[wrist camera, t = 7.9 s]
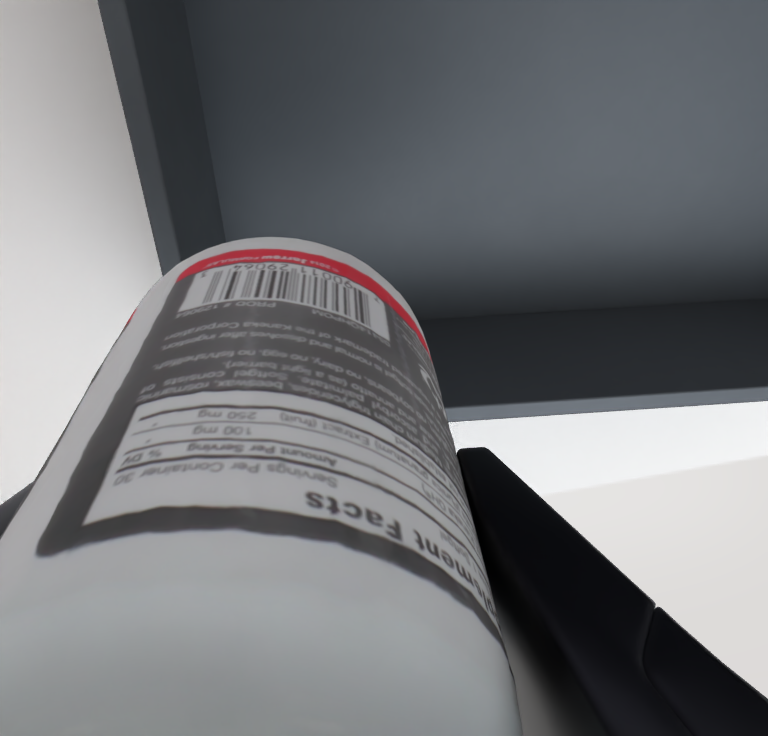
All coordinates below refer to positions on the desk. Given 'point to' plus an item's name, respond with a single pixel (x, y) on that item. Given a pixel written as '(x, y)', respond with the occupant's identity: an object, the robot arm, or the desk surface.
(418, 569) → the pill bottle
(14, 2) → the desk surface
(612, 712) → the robot arm
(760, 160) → the bin
